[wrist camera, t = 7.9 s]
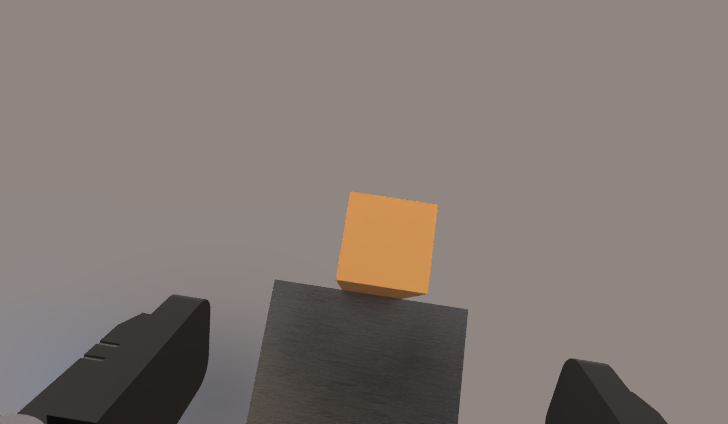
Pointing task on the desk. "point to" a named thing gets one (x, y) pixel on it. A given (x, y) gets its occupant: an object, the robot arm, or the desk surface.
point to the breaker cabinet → (357, 359)
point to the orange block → (387, 246)
